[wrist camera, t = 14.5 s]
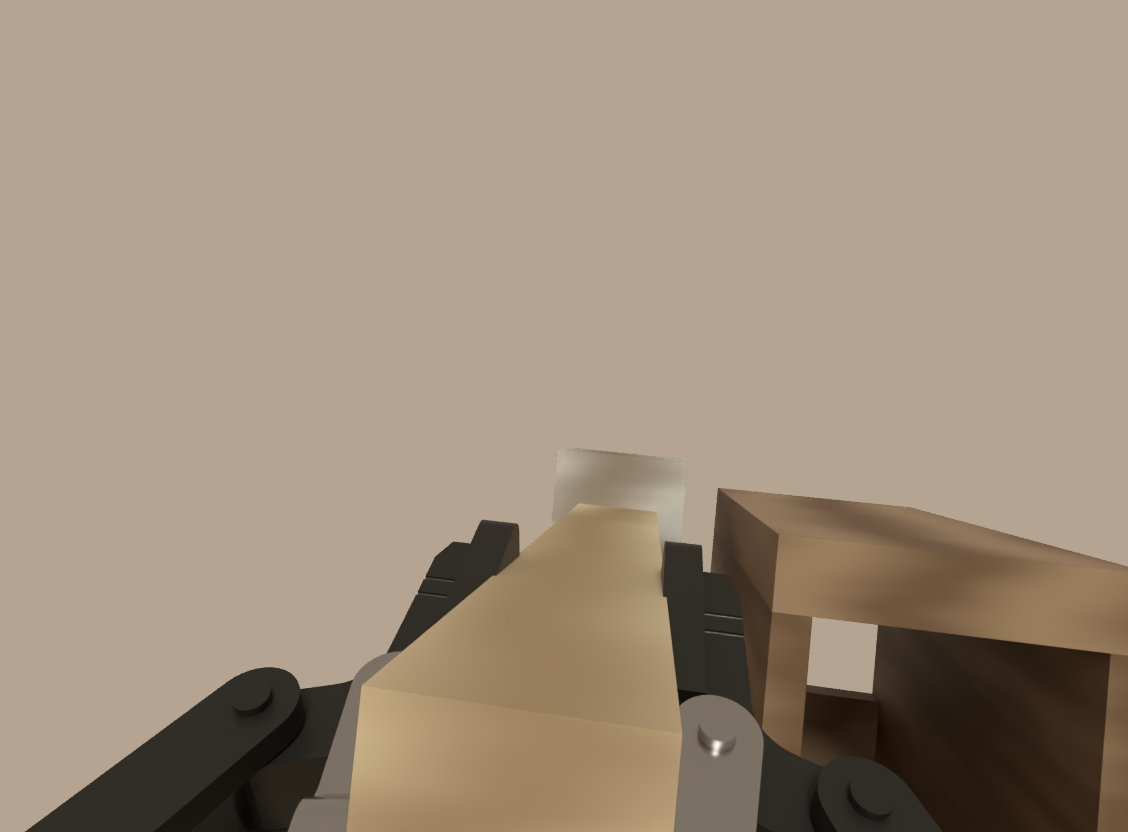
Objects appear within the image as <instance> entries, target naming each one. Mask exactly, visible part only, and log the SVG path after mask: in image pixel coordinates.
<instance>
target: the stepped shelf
mask: <svg viewBox="0 0 1128 832" xmlns="http://www.w3.org/2000/svg"><path fill="white" fill-rule="evenodd" d="M711 573H717V574H725V575H728V577H729V578H730V580H731V581H732V583H733V585H734V586H735V588H736V589H737V591H738V592H739V594H740V598H741V608H742V621H743V627H744V638H745V647H746V656H747V666H748V676H749V686H750V695H751V704H752V709H753V713H754V715H755V718H756V720H757V721H758V723H759V725H760V726H761V728H762V729H763V730H764V732H765V733H766V734H767V735H768V736H769V737H770V738H771V739H772V740H773V741H775V742H776V743H777V744H778V745H780V746H781V747H783V748H784V749H786V750H787V751H789V752H791V753H793V754H795V755H797V756H800V757H802V758H804V759H806V760H808V761H811V762H813V763H815V764H817V765H820V766H822V767H825V766H826V765H827V764H828V763H829V762H831V761H832V760H835V759H837V758H840V757H847V756H849V757H861V758H865V759H868V760H872V761H874V762H876V763H879V764H881V765H883V766H884V767H886V768H888V769H889V770H891V771H892V772H893V773H895V774H896V775H897V776H898V777H900V778H901V779H902V780H903V781H904V782H905V783H906V784H907V786H908V787H909V788H910V789H911V790H912V792H913V793H914V794H915V796H916V797H917V798H918V800H919V801H920V802H921V804H922V805H923V806H924V808H925V809H926V810H927V812H928V813H929V814H930V816H931V817H932V818H933V820H934V821H935V822H936V824H937V825H938V826H939V828H940V829H941V830H942V832H1128V567H1127V566H1123V565H1120V564H1116V563H1112V562H1109V561H1105V560H1102V559H1098V558H1094V557H1091V556H1087V555H1083V554H1079V553H1076V552H1072V551H1068V550H1064V549H1061V548H1057V547H1054V546H1050V545H1046V544H1043V543H1039V542H1035V541H1031V540H1028V539H1024V538H1020V537H1017V536H1013V535H1010V534H1006V533H1002V532H999V531H995V530H991V529H988V528H984V527H980V526H976V525H973V524H969V523H965V522H962V521H958V520H954V519H950V518H947V517H943V516H939V515H936V514H932V513H929V512H925V511H921V510H917V509H914V508H910V507H900V506H891V505H881V504H871V503H861V502H850V501H841V500H831V499H821V498H811V497H801V496H792V495H782V494H772V493H762V492H751V491H742V490H732V489H722V488H718V494H717V505H716V516H715V528H714V539H713V551H712V563H711ZM812 617H819V618H827V619H835V620H843V621H852V622H859V623H867V624H875V625H878V633H877V644H876V656H875V668H874V680H873V692H872V694H869V693H861V692H855V691H847V690H840V689H833V688H825V687H817V686H810V685H807V673H808V660H809V649H810V638H811V625H812Z"/></svg>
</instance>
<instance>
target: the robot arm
mask: <svg viewBox="0 0 1128 832" xmlns="http://www.w3.org/2000/svg"><path fill="white" fill-rule="evenodd" d="M519 556H520V555H519V526H518V524H515V523H507V522H498V521H488V520H482V521H481V522H480V524H479V526H478V528H477V530H476V533H475V535H474V537H473V539H472V542H471V544H469V543H460V542H452V543H451V544H450V545H449V546H448V547H446V548H445V549H444V550H443V551H442V552H440V553H439V554H438V555H437V556H436V557H435V558H434V560H433V562H432V565H431V566H430V568H429V571H428V572H427V574H426V579H424V580H423V582H422V584H421V586H420V588H419V590H418V595H416V596H415V598H414V601H413V602H412V604H411V606H410V608H409V610H408V612H407V614H406V616H405V619H404V620H403V622H402V624H401V626H400V628H399V630H398V632H397V634H396V636H395V638H394V640H393V642H392V644H391V646H390V648H389V650H388V652H387V653H386V654H384V655H381V656H379V657H377V658H374V659H373V660H371V661H370V662H368V663H367V664H366V665H364V666H363V667H362V668H361V669H360V670H359V672H358V673H357V674H356V676H355V677H354V679H353V680H351V681H348V682H345V683H340V684H335V685H328V686H321V687H313V688H305V689H300V687H299V684H298V681H297V680H296V678H295V677H294V676H293V675H292V674H291V673H289V672H288V671H286V670H283V669H280V668H273V667H268V668H267V667H266V668H258V669H254V670H250V671H247V672H245V673H242V674H240V675H238V676H236V677H234V678H233V679H231V680H230V681H228V682H227V683H225V684H224V685H223V686H221V687H220V688H218V689H217V690H216V691H214V692H213V693H212V694H210V695H209V696H208V697H206V698H205V699H204V700H202V701H201V702H200V703H198V704H197V705H195V706H194V707H193V708H191V709H190V710H189V711H188V712H186V713H185V714H183V715H182V716H181V717H180V718H178V719H177V720H175V721H174V722H173V723H171V724H170V725H169V726H167V727H166V728H165V729H163V730H162V731H160V732H159V733H158V734H156V735H155V736H154V737H152V738H151V739H150V740H148V741H147V742H146V743H144V744H143V745H141V746H140V747H139V748H137V749H136V750H135V751H133V752H132V753H131V754H129V755H128V756H127V757H125V758H124V759H123V760H121V761H120V762H119V763H118V764H116V765H114V766H113V767H112V768H110V769H109V770H108V771H106V772H105V773H104V774H102V775H101V776H100V777H98V778H97V779H96V780H94V781H93V782H92V783H90V784H89V785H87V786H86V787H85V788H83V789H82V790H81V791H79V792H78V793H77V794H75V795H74V796H73V797H71V798H70V799H69V800H67V801H66V802H65V803H63V804H62V805H60V806H59V807H58V808H57V809H55V810H54V811H52V812H51V813H50V814H49V815H47V816H46V817H44V818H43V819H42V820H40V821H39V822H38V823H36V824H35V825H33V826H32V827H31V828H30V829H28V830H27V831H25V832H346V830H347V820H348V810H349V801H350V791H351V782H352V772H353V763H354V753H355V744H356V734H357V725H358V715H359V706H360V696H361V686H362V685H363V684H364V683H365V682H366V681H368V680H369V679H370V678H371V677H372V676H374V675H375V674H376V673H377V672H378V671H380V670H381V669H382V668H383V667H384V666H385V665H387V664H388V663H389V662H390V661H391V660H393V659H394V658H395V657H396V656H397V655H399V654H400V653H401V652H402V651H403V650H405V649H406V648H407V647H408V646H409V645H411V644H412V643H413V642H414V641H415V640H417V639H418V638H419V637H420V636H421V635H422V634H424V633H425V632H426V631H427V630H428V629H430V628H431V627H432V626H433V625H434V624H436V623H437V622H438V621H439V620H440V619H442V618H443V617H444V616H445V615H446V614H448V613H449V612H450V611H451V610H452V609H454V608H455V607H456V606H457V605H458V604H459V603H461V602H462V601H463V600H464V599H465V598H467V597H468V596H469V595H470V594H471V593H473V592H474V591H475V590H476V589H477V588H479V587H480V586H481V585H482V584H483V583H485V582H486V581H487V580H488V579H489V578H491V577H492V576H497V575H498V574H499V573H500V572H501V571H503V570H504V569H505V568H506V567H507V566H508V565H510V564H511V563H512V562H513V561H514V560H515V559H517V558H518V557H519ZM661 581H662V592H663V597H667V606H668V614H669V623H670V632H671V640H672V649H673V657H674V666H675V674H676V683H677V692H678V700H679V709H680V717H681V726H682V744H681V755H680V766H679V777H678V788H677V799H676V811H675V822H674V832H942V830H941V829H940V828H939V826H938V825H937V824H936V822H935V821H934V820H933V818H932V817H931V816H930V814H929V813H928V812H927V810H926V809H925V808H924V806H923V805H922V804H921V802H920V801H919V800H918V798H917V797H916V796H915V794H914V793H913V792H912V790H911V789H910V788H909V787H908V786H907V784H906V783H905V782H904V781H903V780H902V779H901V778H900V777H898V776H897V775H896V774H895V773H893V772H892V771H891V770H889V769H888V768H886V767H884V766H883V765H881V764H879V763H876V762H874V761H872V760H868V759H865V758H861V757H849V756H847V757H840V758H837V759H835V760H832V761H831V762H829V763H828V764H827V765H826V766H825V767H822V766H820V765H817V764H815V763H813V762H811V761H808V760H806V759H804V758H802V757H800V756H797V755H795V754H793V753H791V752H789V751H787V750H786V749H784V748H783V747H781V746H780V745H778V744H777V743H776V742H775V741H773V740H772V739H771V738H770V737H769V736H768V735H767V734H766V733H765V732H764V730H763V729H762V728H761V726H760V725H759V723H758V721H757V720H756V718H755V715H754V713H753V709H752V704H751V695H750V686H749V676H748V666H747V656H746V647H745V638H744V627H743V621H742V608H741V598H740V594H739V592H738V591H737V589H736V588H735V586H734V585H733V583H732V581H731V580H730V578H729V577H728V575H725V574H717V573H708V572H703V561H702V546H701V545H695V544H686V543H678V542H669V541H665V543H664V550H663V558H662V567H661Z"/></svg>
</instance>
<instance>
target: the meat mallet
mask: <svg viewBox="0 0 1128 832" xmlns="http://www.w3.org/2000/svg"><path fill="white" fill-rule="evenodd" d="M687 465H688V464H687V462H685V461H683V460H681V459H677V458H667V457H657V456H647V455H636V454H627V453H616V452H607V451H596V450H586V449H560V450H559V451H558V460H557V471H556V482H555V491H554V502H553V512H552V522H551V527H550V528H549V529H548V530H547V531H545V532H544V533H543V534H542V535H541V536H539V537H538V538H537V539H536V540H535V541H534V542H533V543H531V544H530V545H529V546H528V547H526V548H525V549H524V550H523V551H522V552H520V553H519V555H520V556H519V557H518V558H517V559H515V560H514V561H513V562H512V563H511V564H510V565H508V566H507V567H506V568H505V569H504V570H503V571H501V572H500V573H499V574H498V575H497V576H492V577H491V578H489V579H488V580H487V581H486V582H485V583H483V584H482V585H481V586H480V587H479V588H477V589H476V590H475V591H474V592H473V593H471V594H470V595H469V596H468V597H467V598H465V599H464V600H463V601H462V602H461V603H459V604H458V605H457V606H456V607H455V608H454V609H452V610H451V611H450V612H449V613H448V614H446V615H445V616H444V617H443V618H442V619H440V620H439V621H438V622H437V623H436V624H434V625H433V626H432V627H431V628H430V629H428V630H427V631H426V632H425V633H424V634H422V635H421V636H420V637H419V638H418V639H417V640H415V641H414V642H413V643H412V644H411V645H409V646H408V647H407V648H406V649H405V650H403V651H402V652H401V653H400V654H399V655H397V656H396V657H395V658H394V659H393V660H391V661H390V662H389V663H388V664H387V665H385V666H384V667H383V668H382V669H381V670H380V671H378V672H377V673H376V674H375V675H374V676H372V677H371V678H370V679H369V680H368V681H366V682H365V683H364V684H363V685H362V686H361V696H360V706H359V715H358V725H357V734H356V744H355V753H354V763H353V772H352V782H351V791H350V801H349V810H348V820H347V830H346V832H674V822H675V811H676V799H677V788H678V777H679V766H680V755H681V744H682V726H681V717H680V709H679V700H678V692H677V683H676V674H675V666H674V657H673V649H672V640H671V632H670V623H669V614H668V606H667V597H663V592H662V581H661V567H662V558H663V550H664V543H665V541H669V542H678V543H680V541H681V530H682V520H683V508H684V498H685V486H686V475H687Z"/></svg>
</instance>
